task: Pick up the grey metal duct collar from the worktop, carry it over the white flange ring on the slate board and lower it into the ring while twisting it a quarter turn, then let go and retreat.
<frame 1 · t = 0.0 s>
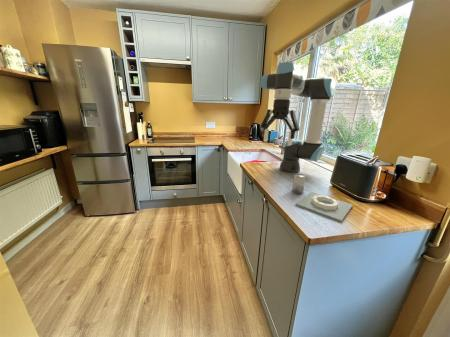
hand: (277, 143, 96), 28 cm above the worktop, fingers open, 13 cm apart
duct collar: (297, 192, 107), on the worktop
duct flange: (323, 205, 92), on the worktop
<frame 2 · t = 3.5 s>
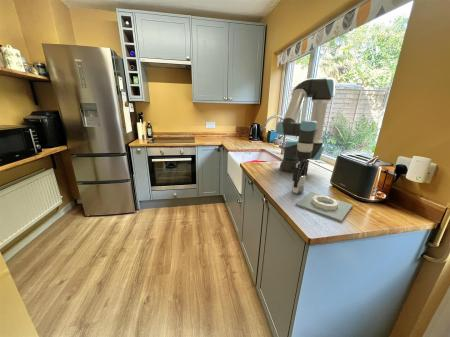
hand: (297, 190, 107), 1 cm above the worktop, fingers closed on duct collar, 6 cm apart
duct collar: (297, 192, 107), on the worktop, touching gripper
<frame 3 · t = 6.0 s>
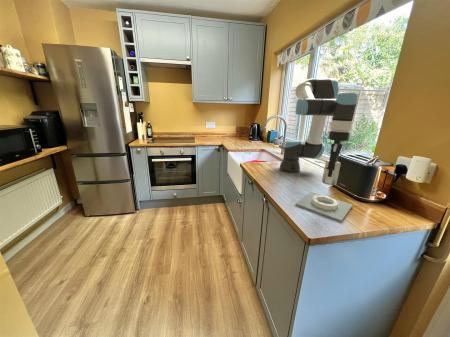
hand: (329, 180, 88), 13 cm above the worktop, fingers closed on duct collar, 6 cm apart
duct collar: (328, 182, 88), point 12 cm above the worktop, touching gripper
when the fingers open (3 cm above the worktop, at t = 8.6 s): duct collar drops 1 cm, resting on duct flange.
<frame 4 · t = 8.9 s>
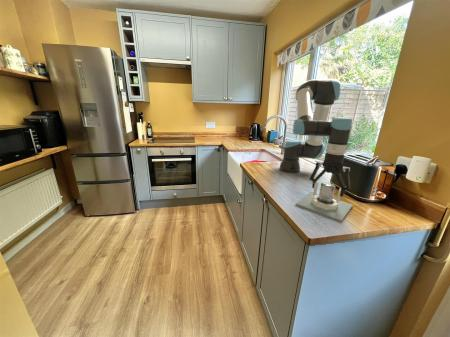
hand: (325, 198, 91), 4 cm above the worktop, fingers open, 10 cm apart
duct collar: (324, 204, 92), point 1 cm above the worktop, touching duct flange
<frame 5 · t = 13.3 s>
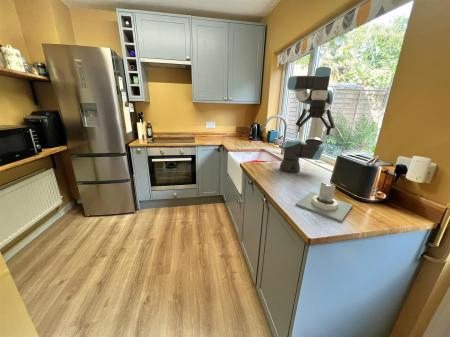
hand: (311, 139, 106), 29 cm above the worktop, fingers open, 13 cm apart
nothing on the worktop moved.
at the end: duct collar 0.0 cm off-centre on the duct flange, point 1.0 cm above the duct flange's base; duct collar tilted 0°; the gripper is holding nothing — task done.
